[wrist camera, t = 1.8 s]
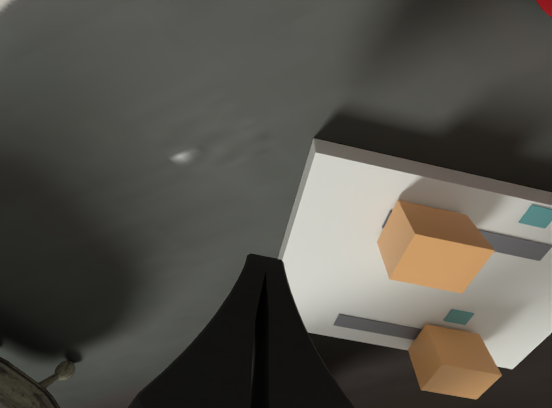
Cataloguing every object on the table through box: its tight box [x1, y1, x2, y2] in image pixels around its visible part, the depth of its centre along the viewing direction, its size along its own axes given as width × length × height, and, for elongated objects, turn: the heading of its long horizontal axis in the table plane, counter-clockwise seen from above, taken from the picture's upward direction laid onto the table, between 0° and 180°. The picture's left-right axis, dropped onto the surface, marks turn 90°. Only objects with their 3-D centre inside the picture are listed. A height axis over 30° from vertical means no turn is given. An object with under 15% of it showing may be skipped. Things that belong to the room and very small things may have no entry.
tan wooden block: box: [408, 324, 502, 399], centre depth 23 cm, size 3×4×3 cm
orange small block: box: [377, 200, 495, 293], centre depth 17 cm, size 3×4×3 cm
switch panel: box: [278, 138, 552, 369], centre depth 22 cm, size 14×20×2 cm
